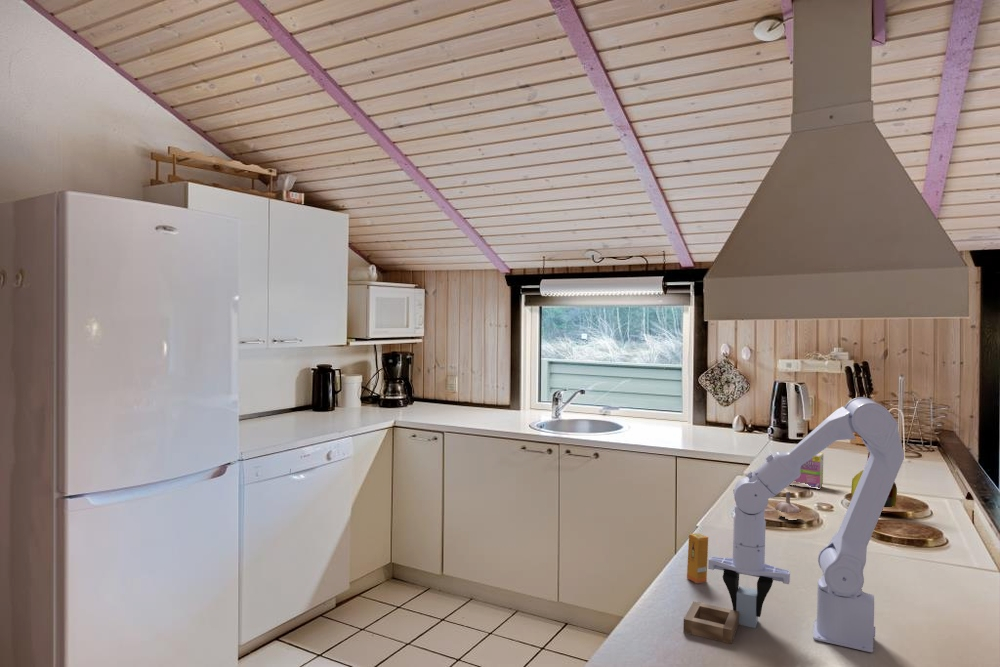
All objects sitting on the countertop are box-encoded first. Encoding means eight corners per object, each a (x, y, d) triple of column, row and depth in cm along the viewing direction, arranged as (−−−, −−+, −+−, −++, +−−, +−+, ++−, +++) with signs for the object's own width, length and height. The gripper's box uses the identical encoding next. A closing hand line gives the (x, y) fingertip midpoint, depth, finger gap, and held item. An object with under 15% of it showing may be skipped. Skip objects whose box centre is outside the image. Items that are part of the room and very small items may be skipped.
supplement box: (708, 581, 143) (709, 537, 143) (696, 584, 142) (697, 538, 142) (698, 576, 146) (699, 532, 146) (685, 578, 145) (687, 534, 145)
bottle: (897, 513, 196) (899, 447, 196) (894, 518, 191) (896, 450, 191) (853, 505, 204) (855, 442, 203) (848, 510, 199) (850, 445, 198)
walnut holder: (738, 624, 124) (739, 611, 124) (731, 643, 116) (731, 630, 116) (693, 613, 128) (693, 601, 128) (683, 632, 120) (683, 618, 120)
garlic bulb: (775, 513, 194) (776, 487, 194) (802, 517, 191) (803, 490, 191) (774, 520, 188) (774, 493, 187) (802, 524, 184) (802, 496, 184)
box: (787, 485, 227) (788, 452, 227) (790, 482, 232) (791, 449, 231) (820, 490, 221) (821, 456, 221) (822, 487, 226) (823, 453, 225)
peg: (757, 620, 125) (758, 589, 125) (755, 628, 122) (756, 596, 122) (738, 616, 127) (739, 586, 127) (735, 623, 124) (736, 592, 124)
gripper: (792, 542, 124) (790, 612, 125) (713, 529, 131) (712, 596, 132) (789, 554, 118) (786, 628, 118) (706, 540, 125) (705, 609, 125)
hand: (747, 612), depth 125 cm, fingers closed on peg, 3 cm apart
